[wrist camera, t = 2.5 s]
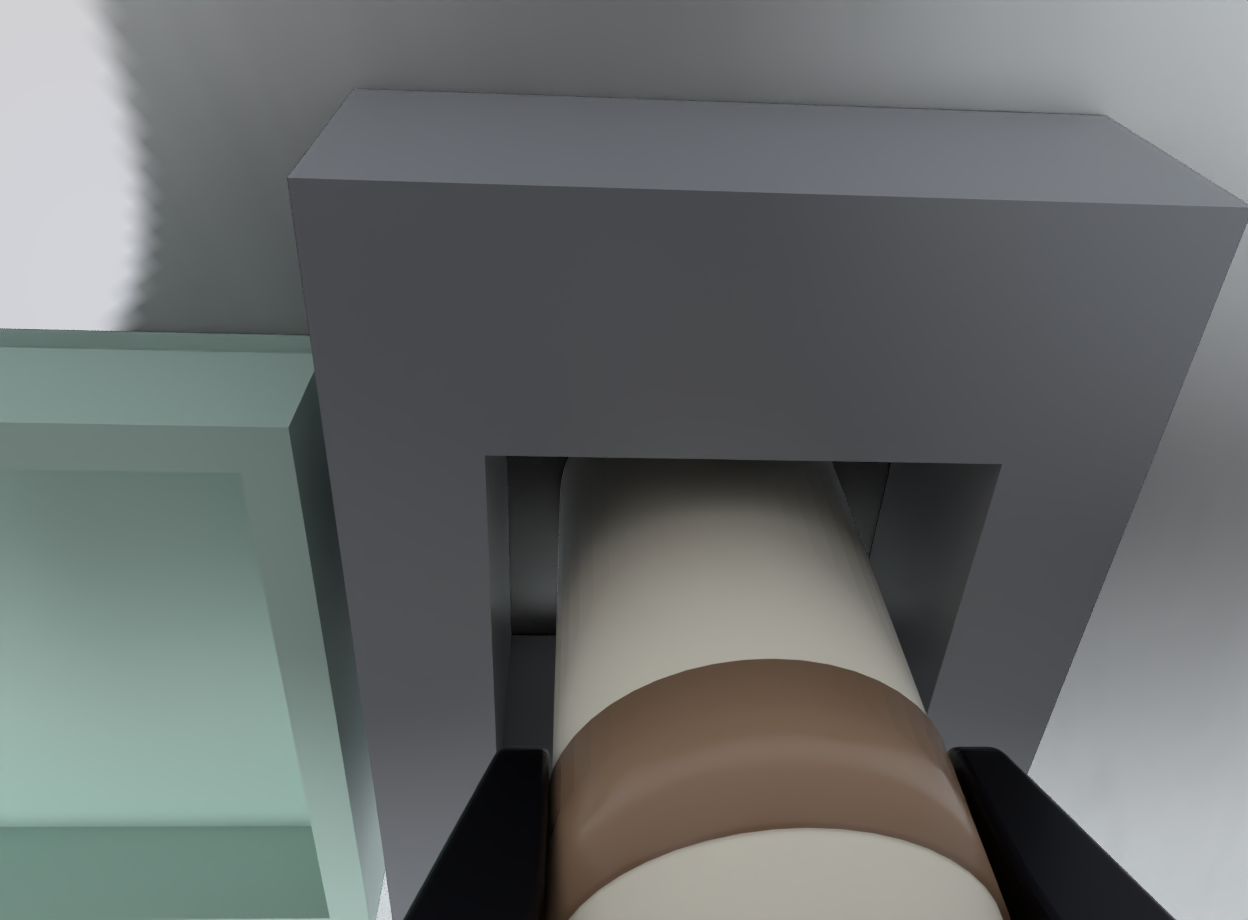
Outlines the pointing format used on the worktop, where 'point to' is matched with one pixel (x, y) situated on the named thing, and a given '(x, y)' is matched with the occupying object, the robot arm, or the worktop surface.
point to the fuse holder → (735, 373)
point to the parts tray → (175, 637)
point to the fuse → (740, 710)
